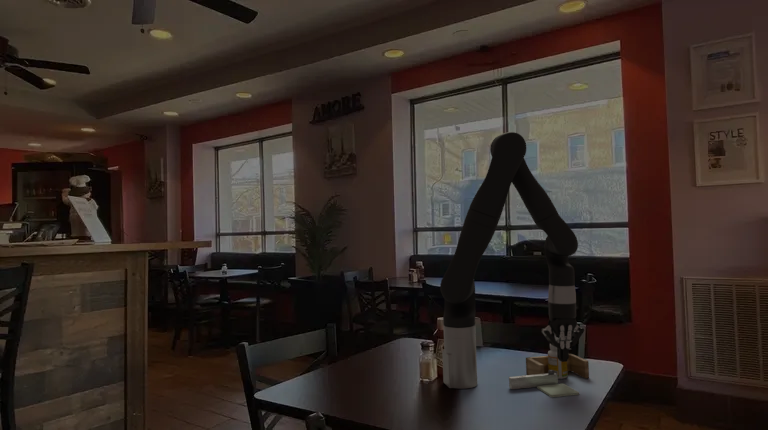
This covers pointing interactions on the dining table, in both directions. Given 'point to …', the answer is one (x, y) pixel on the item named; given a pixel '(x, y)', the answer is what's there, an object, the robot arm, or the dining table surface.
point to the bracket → (541, 367)
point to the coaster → (558, 390)
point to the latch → (533, 380)
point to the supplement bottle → (556, 363)
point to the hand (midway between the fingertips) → (563, 360)
